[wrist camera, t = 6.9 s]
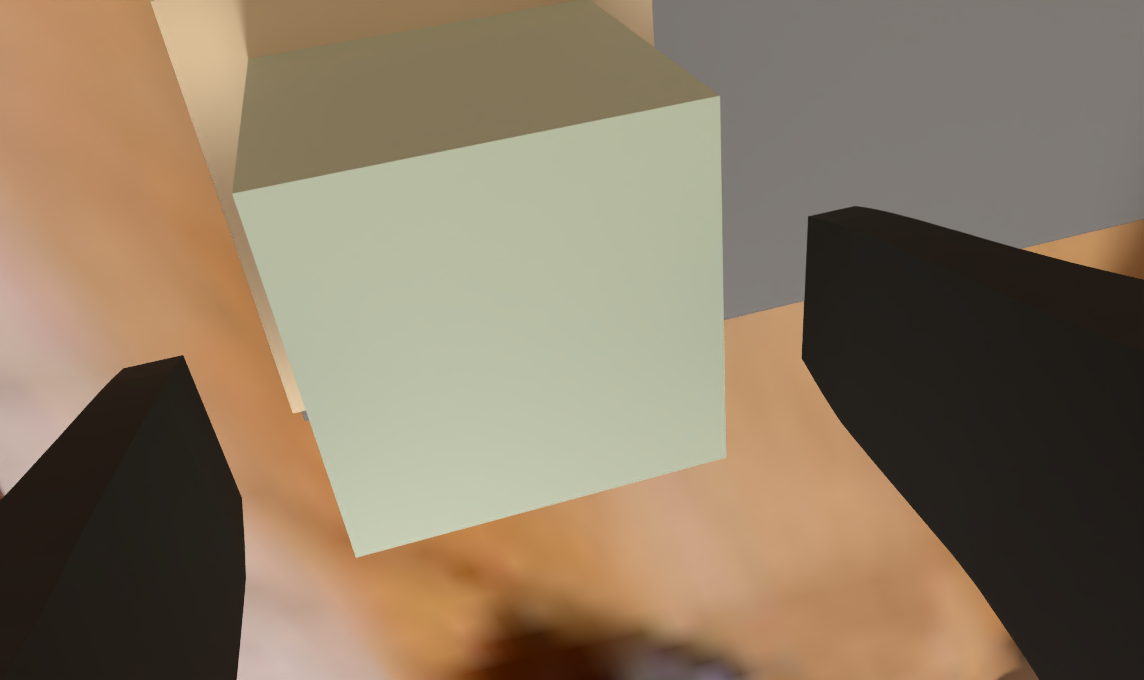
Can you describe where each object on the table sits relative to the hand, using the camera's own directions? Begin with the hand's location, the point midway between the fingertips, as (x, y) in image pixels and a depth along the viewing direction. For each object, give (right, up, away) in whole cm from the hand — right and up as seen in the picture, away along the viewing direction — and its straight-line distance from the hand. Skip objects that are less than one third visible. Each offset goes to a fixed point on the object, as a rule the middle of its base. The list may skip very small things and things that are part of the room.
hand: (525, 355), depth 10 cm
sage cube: (-1, +3, +4) cm, 5 cm away
